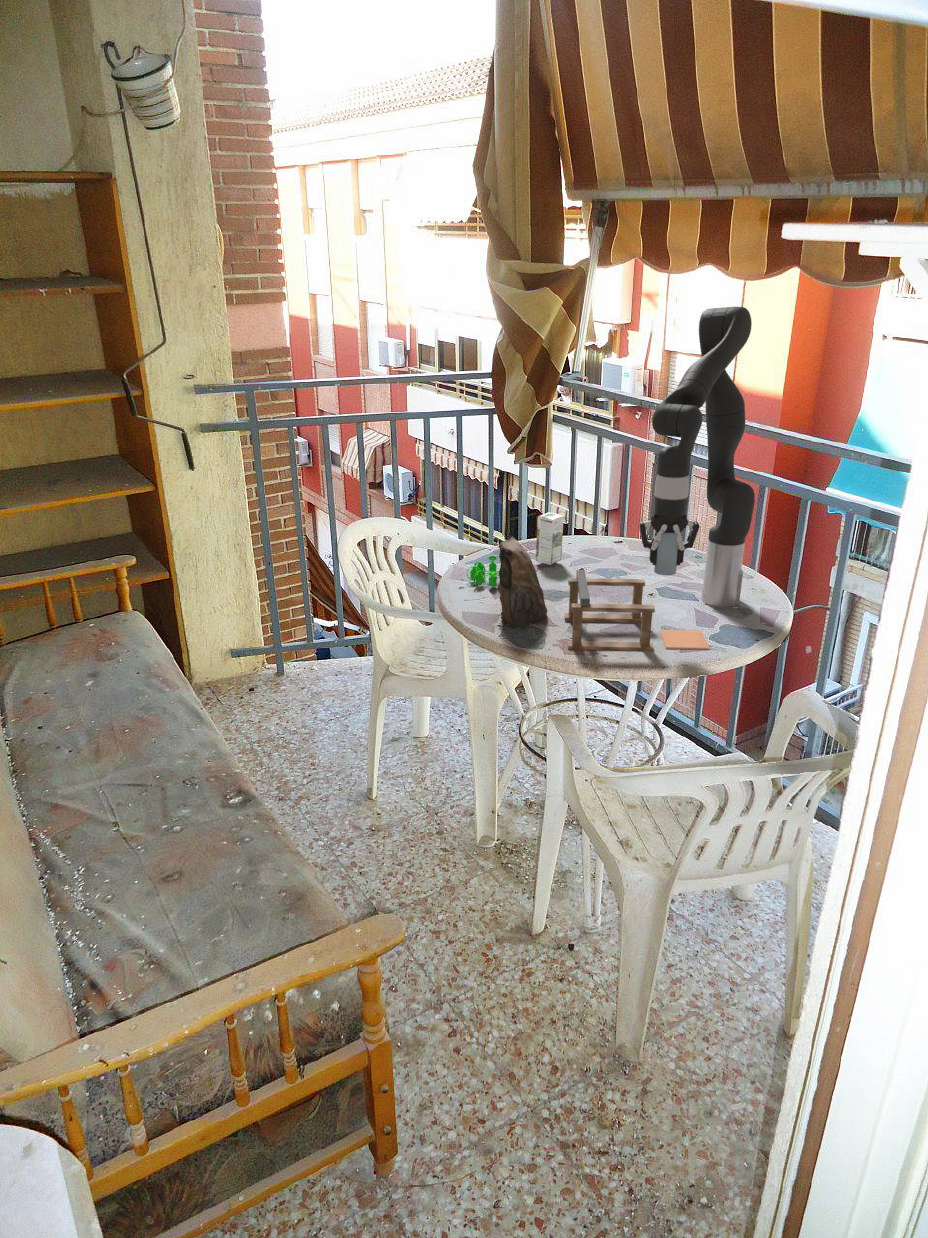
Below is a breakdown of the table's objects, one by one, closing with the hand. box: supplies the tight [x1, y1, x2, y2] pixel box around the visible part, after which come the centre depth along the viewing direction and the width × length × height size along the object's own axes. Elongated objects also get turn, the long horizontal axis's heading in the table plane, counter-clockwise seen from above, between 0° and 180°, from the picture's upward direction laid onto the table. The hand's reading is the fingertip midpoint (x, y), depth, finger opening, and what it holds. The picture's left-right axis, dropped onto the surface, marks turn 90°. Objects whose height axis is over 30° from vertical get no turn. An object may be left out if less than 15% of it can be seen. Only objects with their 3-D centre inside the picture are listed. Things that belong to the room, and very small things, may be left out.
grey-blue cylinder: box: [653, 533, 678, 577], centre depth 199 cm, size 5×5×10 cm
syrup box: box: [535, 512, 565, 566], centre depth 257 cm, size 6×6×14 cm
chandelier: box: [466, 555, 499, 588], centre depth 244 cm, size 15×15×7 cm
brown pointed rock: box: [496, 536, 548, 629], centre depth 216 cm, size 13×13×20 cm
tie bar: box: [575, 569, 591, 607], centre depth 206 cm, size 2×19×2 cm, turn 176°
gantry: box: [564, 577, 656, 651], centre depth 208 cm, size 20×20×11 cm
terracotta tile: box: [659, 629, 710, 650], centre depth 205 cm, size 10×10×1 cm
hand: (665, 563), depth 200 cm, fingers closed on grey-blue cylinder, 5 cm apart
